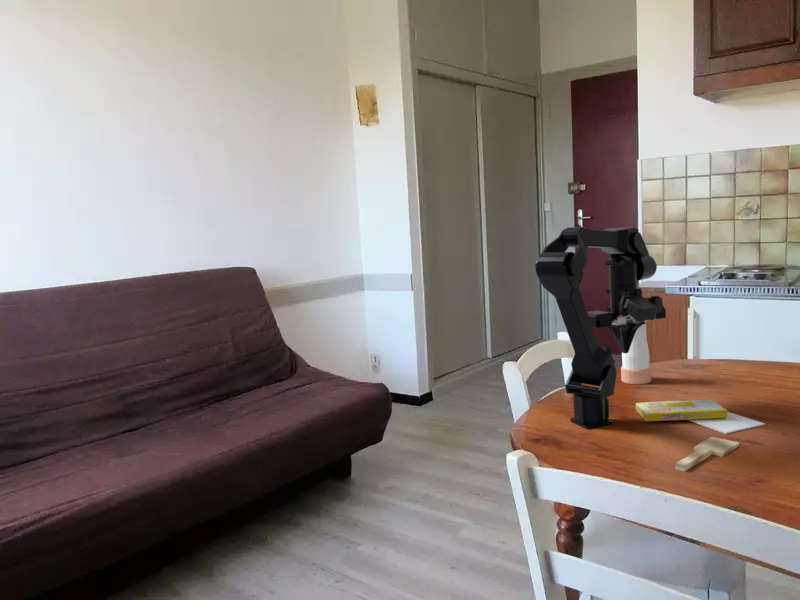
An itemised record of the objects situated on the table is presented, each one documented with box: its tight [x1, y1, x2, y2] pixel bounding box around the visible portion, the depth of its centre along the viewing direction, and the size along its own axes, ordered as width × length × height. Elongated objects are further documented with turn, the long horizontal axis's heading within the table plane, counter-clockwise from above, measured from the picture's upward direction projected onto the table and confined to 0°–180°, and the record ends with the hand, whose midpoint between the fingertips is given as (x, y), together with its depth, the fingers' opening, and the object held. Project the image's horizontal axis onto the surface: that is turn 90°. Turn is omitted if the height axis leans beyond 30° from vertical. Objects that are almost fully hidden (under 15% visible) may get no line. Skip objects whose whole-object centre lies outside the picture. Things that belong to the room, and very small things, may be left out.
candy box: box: [635, 398, 728, 422], centre depth 137 cm, size 16×2×8 cm
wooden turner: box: [674, 436, 740, 472], centre depth 116 cm, size 17×5×1 cm, turn 130°
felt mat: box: [687, 411, 766, 435], centre depth 134 cm, size 10×16×1 cm, turn 20°
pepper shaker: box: [620, 320, 652, 385], centre depth 165 cm, size 7×7×19 cm
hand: (625, 352), depth 146 cm, fingers closed
